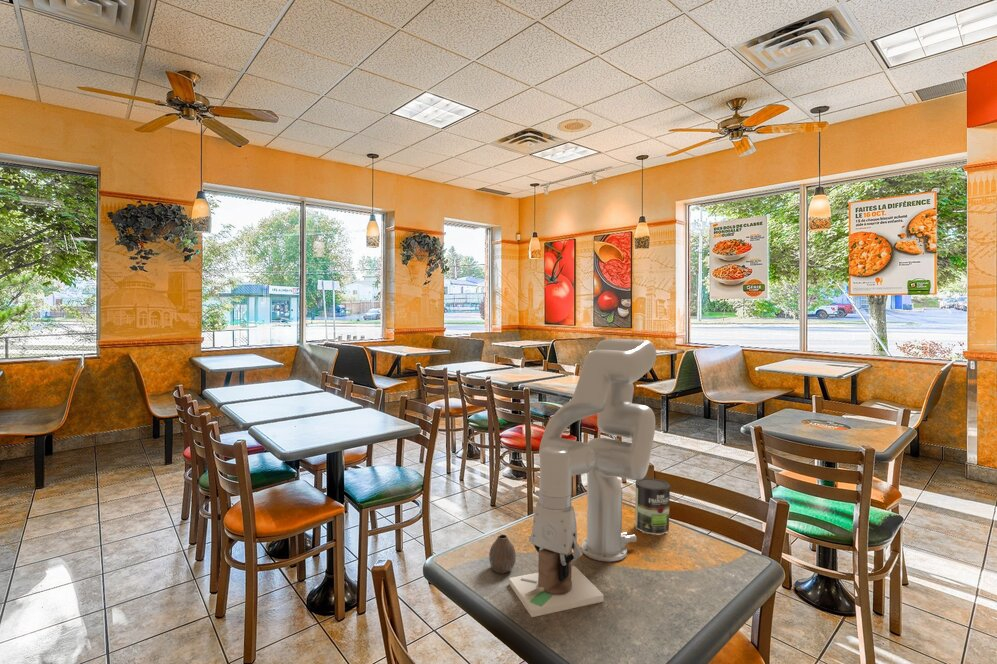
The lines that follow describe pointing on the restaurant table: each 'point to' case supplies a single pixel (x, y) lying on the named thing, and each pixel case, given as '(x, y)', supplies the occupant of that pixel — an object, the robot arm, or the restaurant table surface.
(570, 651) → the restaurant table surface
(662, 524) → the coffee can
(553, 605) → the dial board
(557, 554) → the dial knob
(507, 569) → the vase
